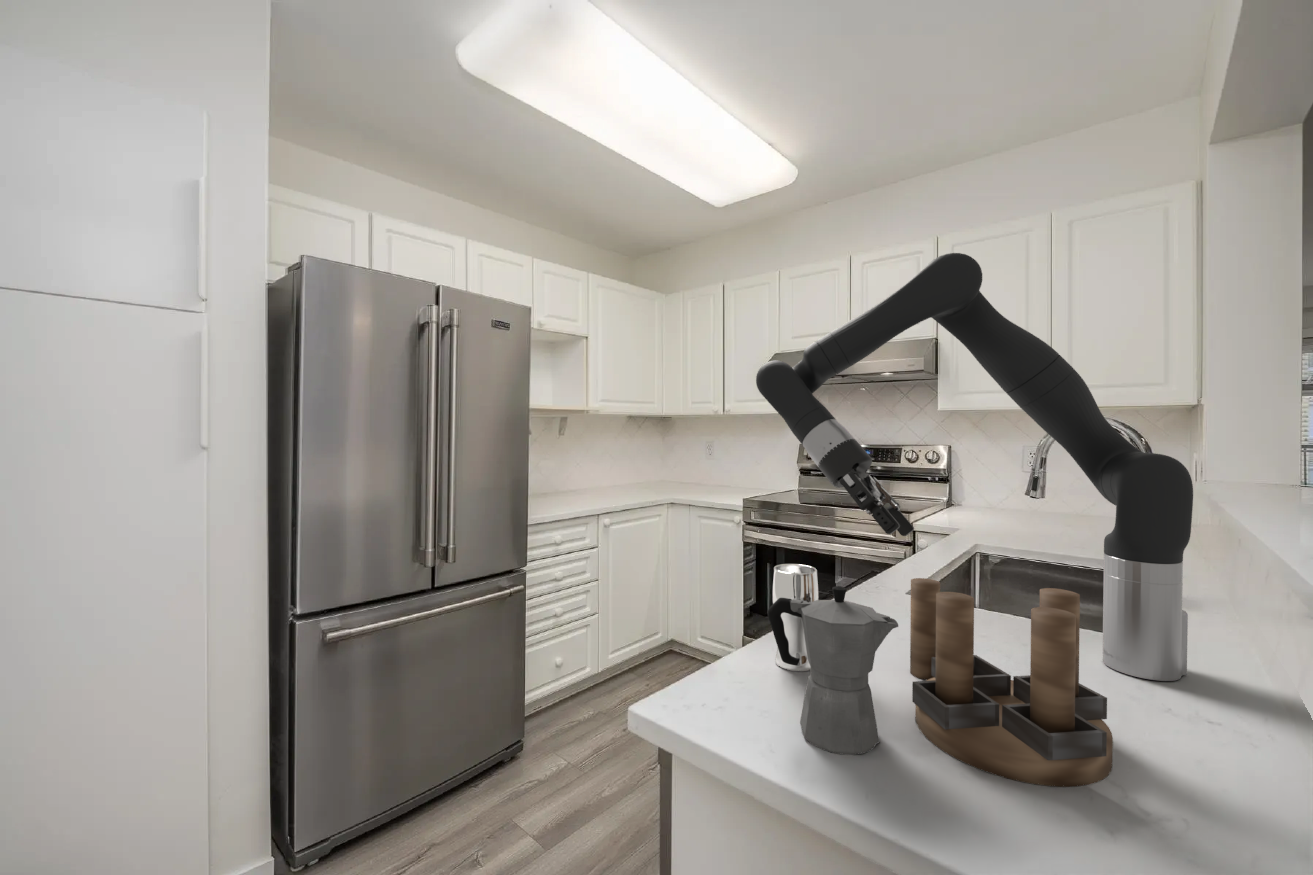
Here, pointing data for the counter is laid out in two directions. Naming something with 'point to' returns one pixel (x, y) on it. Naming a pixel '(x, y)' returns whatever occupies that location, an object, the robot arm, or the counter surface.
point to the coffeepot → (836, 669)
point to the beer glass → (799, 586)
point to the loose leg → (923, 626)
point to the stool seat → (1016, 699)
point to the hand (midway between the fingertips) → (902, 532)
